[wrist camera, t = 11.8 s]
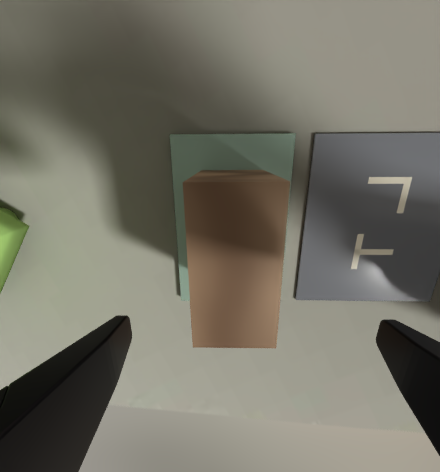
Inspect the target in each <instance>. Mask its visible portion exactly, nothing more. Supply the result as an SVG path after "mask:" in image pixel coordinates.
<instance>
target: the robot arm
mask: <svg viewBox="0 0 440 472" xmlns="http://www.w3.org/2000/svg"><path fill="white" fill-rule="evenodd" d="M131 340H132V331H131V324H130V319H129V317H128V316H115V317H114V318H112V319H111V320H109V321H108V322H106V323H104V324H103V325H101V326H100V327H98V328H97V329H95V330H93V331H92V332H90V333H89V334H87V335H86V336H84V337H83V338H81V339H79V340H78V341H76V342H75V343H73V344H72V345H70V346H68V347H67V348H65V349H64V350H62V351H61V352H59V353H58V354H56V355H54V356H53V357H51V358H50V359H48V360H47V361H45V362H43V363H42V364H40V365H39V366H37V367H36V368H34V369H32V370H31V371H29V372H28V373H26V374H25V375H23V376H22V377H20V378H18V379H17V380H15V381H14V382H12V383H11V384H10V385H9V386H6V387H4V388H3V389H1V390H0V472H78V471H79V469H80V467H81V465H82V462H83V460H84V458H85V456H86V453H87V451H88V449H89V446H90V444H91V442H92V440H93V437H94V435H95V433H96V431H97V428H98V426H99V424H100V421H101V419H102V417H103V415H104V412H105V410H106V408H107V406H108V403H109V401H110V399H111V397H112V394H113V392H114V390H115V387H116V385H117V382H118V380H119V377H120V374H121V371H122V368H123V365H124V361H125V358H126V355H127V352H128V349H129V346H130V343H131ZM376 343H377V346H378V348H379V350H380V352H381V354H382V356H383V358H384V360H385V362H386V364H387V366H388V368H389V370H390V372H391V374H392V376H393V378H394V380H395V382H396V384H397V386H398V388H399V390H400V392H401V393H402V395H403V397H404V398H405V400H406V402H407V403H408V405H409V407H410V408H411V410H412V411H413V413H414V415H415V416H416V418H417V420H418V421H419V423H420V425H421V426H422V428H423V429H424V431H425V433H426V434H427V436H428V438H429V439H430V441H431V442H432V444H433V446H434V448H435V449H436V451H437V452H438V454H439V456H440V342H438V341H436V340H434V339H432V338H430V337H428V336H426V335H424V334H422V333H420V332H418V331H416V330H414V329H412V328H410V327H408V326H406V325H404V324H402V323H400V322H398V321H396V320H382V321H381V322H380V325H379V329H378V333H377V336H376Z"/></svg>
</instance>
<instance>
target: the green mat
mask: <svg viewBox="0 0 440 472" xmlns="http://www.w3.org/2000/svg"><path fill="white" fill-rule="evenodd" d="M295 136H296V133H295V134H170V147H171V161H172V175H173V190H174V204H175V219H176V233H177V248H178V262H179V277H180V291H181V301H190V293H189V277H188V261H187V245H186V229H185V213H184V198H183V182H184V181H186V180H187V179H189V178H190V177H192V176H193V175H195V174H196V173H198V172H200V171H201V170H265V171H267V172H269V173H272V174H274V175H276V176H279V177H281V178H283V179H286V180H288V181H290V190H291V179H292V168H293V158H294V147H295ZM289 201H290V191H289ZM288 211H289V202H288ZM287 222H288V214H287ZM286 233H287V226H286ZM285 243H286V238H285ZM284 254H285V249H284ZM283 265H284V261H283ZM282 276H283V273H282ZM281 286H282V285H281ZM280 297H281V296H280Z"/></svg>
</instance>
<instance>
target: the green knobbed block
mask: <svg viewBox="0 0 440 472" xmlns="http://www.w3.org/2000/svg"><path fill="white" fill-rule="evenodd" d="M28 228H29V226H28V225H27V224H25V223H23V222H21V221H20V220H19V219H18V217H17V216H16V214H15V213H14V212H12V211H11V210H9V209H6V208H0V293H1V291H2V288H3V286H4V284H5V281H6V279H7V277H8V274H9V272H10V270H11V267H12V265H13V263H14V260H15V258H16V256H17V253H18V251H19V249H20V246H21V244H22V242H23V239H24V237H25V235H26V232H27V230H28Z"/></svg>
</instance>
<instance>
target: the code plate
mask: <svg viewBox="0 0 440 472" xmlns="http://www.w3.org/2000/svg"><path fill="white" fill-rule="evenodd" d="M439 273H440V133H342V134H315V135H314V143H313V152H312V160H311V169H310V177H309V186H308V194H307V203H306V211H305V220H304V228H303V237H302V245H301V254H300V262H299V271H298V279H297V288H296V296H295V299H296V300H347V301H430V300H431V297H432V294H433V291H434V288H435V285H436V282H437V279H438V276H439Z"/></svg>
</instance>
